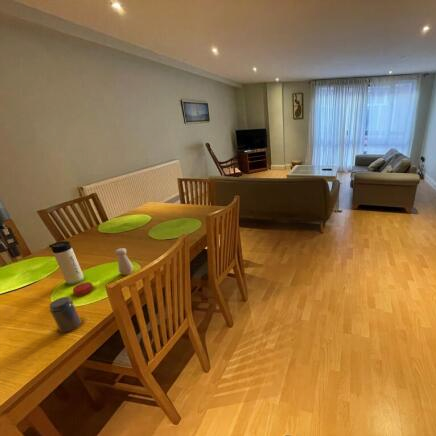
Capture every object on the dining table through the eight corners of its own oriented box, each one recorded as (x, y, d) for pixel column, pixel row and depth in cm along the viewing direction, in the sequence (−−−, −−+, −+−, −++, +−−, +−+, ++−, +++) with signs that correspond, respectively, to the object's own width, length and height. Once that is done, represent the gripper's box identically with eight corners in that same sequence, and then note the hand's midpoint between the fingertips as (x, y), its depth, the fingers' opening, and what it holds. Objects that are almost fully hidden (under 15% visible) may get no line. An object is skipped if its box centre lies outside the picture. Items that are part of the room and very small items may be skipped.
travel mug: (65, 280, 111) (48, 242, 103) (83, 275, 115) (68, 238, 108) (66, 287, 107) (48, 248, 99) (84, 281, 111) (69, 242, 103)
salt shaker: (137, 270, 119) (130, 247, 114) (127, 277, 114) (119, 253, 109) (127, 268, 120) (120, 245, 115) (117, 275, 115) (109, 251, 110)
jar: (69, 333, 84) (57, 309, 79) (55, 331, 84) (42, 307, 80) (85, 320, 89) (75, 296, 85) (71, 318, 90) (60, 295, 86)
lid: (82, 286, 107) (80, 282, 106) (96, 286, 107) (95, 281, 107) (70, 296, 101) (68, 291, 100) (86, 295, 102) (84, 291, 101)
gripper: (13, 207, 73) (35, 253, 80) (-7, 201, 79) (15, 245, 85) (-24, 215, 67) (3, 264, 73) (-43, 208, 72) (-17, 255, 79)
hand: (9, 254), depth 79 cm, fingers open, 8 cm apart
